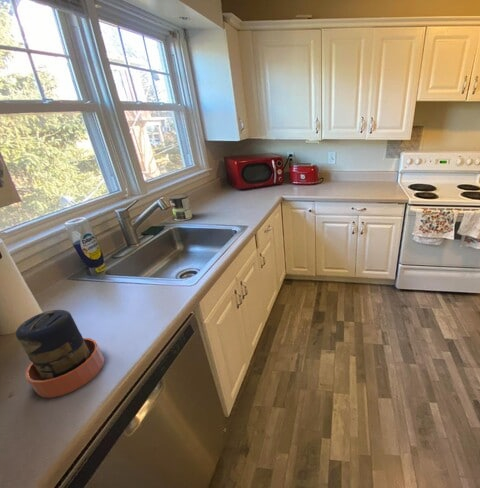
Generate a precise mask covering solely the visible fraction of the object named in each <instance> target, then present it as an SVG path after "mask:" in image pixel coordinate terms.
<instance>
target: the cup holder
mask: <svg viewBox="0 0 480 488" xmlns="http://www.w3.org/2000/svg"><path fill="white" fill-rule="evenodd" d="M83 339H84V341H85V343H86V346H87V347H88V350H89V352H90V354H91V356H90V357H89V358H88V359H87V360H86V361H85V362H84V363H83V364H81V365H80V366H78V367H77V368H76V369H74V370H72V371H70V372H68V373H66V374H64V375H62V376H59V377H56V378H53V379H48V380H43V378H42V376H41V375H40V373H39V372H38V370H37V369H36V367H35V366H34V364H33V362H32V361H31V363H30V364H29V365H28V367H27V368H26V371H25V379H26V380H27V382H28V383H29V385H30V386H31V387H32V389H33V390H34V392H35V393H36V394H37V395H38V396H40V397H41V398H55V397H61V396H64V395H67V394H69V393H72V392H74V391H76V390H78V389H79V388H81V387H83V386H85V385H86V384H87V383H89V382H90V381H92V380H93V379H94V378H95V377H96V376H97V375H98V374H99V373H100V371H101V370H102V368H103V367H104V365H105V357H104V354H103V353H102V350H101V348H100V347H99V345H98V343H97V341H96V340H95V339H93V338H90V337H83Z"/></svg>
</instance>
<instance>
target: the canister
mask: <svg viewBox="0 0 480 488" xmlns="http://www.w3.org/2000/svg"><path fill="white" fill-rule="evenodd" d="M82 335H83V334H82V333H81V331H80V330H79V327H78V325H77V324H76V321H75V320H74V318H73V316H72V314H71V312H70V311H68V310H65V309H52V310H47V311H44V312H41V313H38V314H36V315H34V316H32V317H30V318H28V319H27V320H24V321H23V322H22V323H21V324H20V325H19V326H18V327H17V329H16V331H15V336H16V338H17V340H18V342H19V344H20V345H21V347H22V349H23V350H24V351H25V353H26V355H27V357H28V360H29V361H30V362H31V363H32V362H33V364H34V366H35V367H36V369H37V370H38V372H39V373H40V375H41V376H42V378H43V379H42V381H43V380H48V379H53V378H56V377H59V376H62V375H64V374H66V373H68V372H70V371H72V370H74V369H76V368H77V367H78V366H80V365H81V364H83V363H84V362H85V361H86V360H87V359H88V358H89V357H90V356H91V355H92V354H91V353H90V352H89V350H88V347H87V346H86V343H85V341H84V339H83V338H84V337H83V336H82Z"/></svg>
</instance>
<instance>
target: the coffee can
mask: <svg viewBox="0 0 480 488" xmlns="http://www.w3.org/2000/svg"><path fill="white" fill-rule="evenodd" d="M168 200H169V203H170V206H171V210H172V214H173V218H174V221H177V222H185V221H188V220H190V219H192V218H193V214H192V209H191V205H190V201H189V194H187V193H176V194H171V195H170V196H168Z"/></svg>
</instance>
